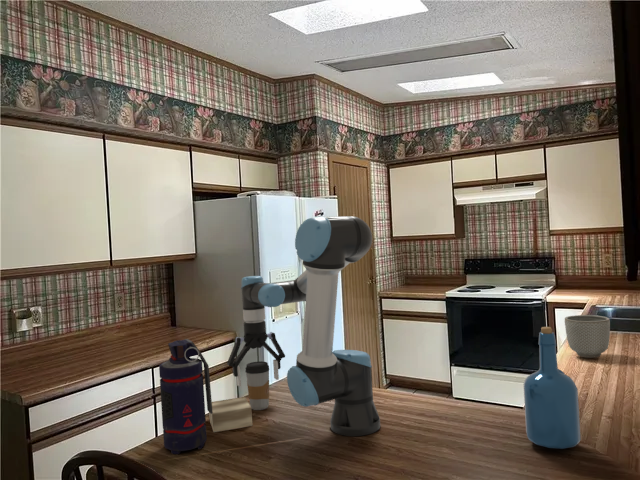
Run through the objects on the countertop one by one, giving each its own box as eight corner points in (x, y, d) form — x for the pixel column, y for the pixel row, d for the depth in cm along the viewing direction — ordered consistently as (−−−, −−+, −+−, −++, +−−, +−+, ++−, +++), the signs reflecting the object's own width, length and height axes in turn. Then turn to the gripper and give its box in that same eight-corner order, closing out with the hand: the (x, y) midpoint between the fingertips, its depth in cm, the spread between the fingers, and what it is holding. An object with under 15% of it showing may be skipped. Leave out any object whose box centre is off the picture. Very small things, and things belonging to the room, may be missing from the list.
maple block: (252, 426, 161) (251, 407, 161) (213, 433, 157) (212, 413, 157) (245, 414, 172) (244, 396, 172) (209, 420, 168) (208, 402, 168)
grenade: (168, 458, 139) (161, 348, 139) (160, 444, 150) (154, 341, 149) (218, 446, 145) (212, 340, 145) (207, 433, 156) (201, 334, 156)
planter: (573, 360, 214) (571, 322, 214) (561, 351, 231) (559, 315, 231) (618, 359, 211) (616, 320, 211) (602, 350, 228) (600, 314, 228)
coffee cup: (267, 411, 173) (264, 367, 173) (244, 411, 175) (241, 367, 175) (274, 403, 181) (272, 360, 181) (252, 403, 183) (249, 361, 183)
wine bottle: (578, 454, 127) (571, 333, 127) (521, 445, 134) (515, 330, 134) (583, 434, 139) (577, 323, 139) (531, 427, 146) (525, 322, 146)
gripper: (284, 315, 186) (287, 373, 187) (216, 323, 176) (219, 385, 176) (292, 317, 180) (295, 378, 180) (221, 327, 169) (225, 391, 169)
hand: (257, 382), depth 178 cm, fingers open, 13 cm apart
